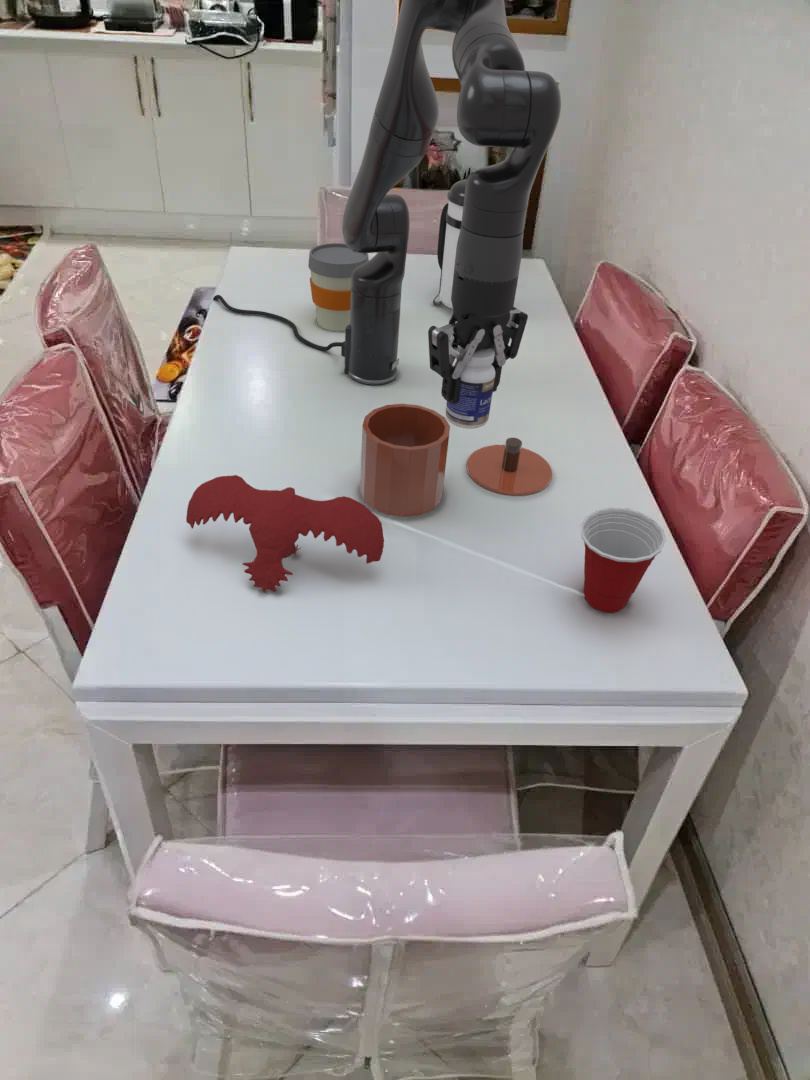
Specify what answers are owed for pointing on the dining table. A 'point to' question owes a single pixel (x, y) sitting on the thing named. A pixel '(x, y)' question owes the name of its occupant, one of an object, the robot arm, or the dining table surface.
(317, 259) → the reusable coffee cup
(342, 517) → the decorative bird sculpture
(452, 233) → the coffee press
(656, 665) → the dining table surface
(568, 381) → the dining table surface
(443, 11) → the robot arm
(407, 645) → the dining table surface
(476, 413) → the pill bottle
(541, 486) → the lid
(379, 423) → the pot
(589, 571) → the plastic cup
